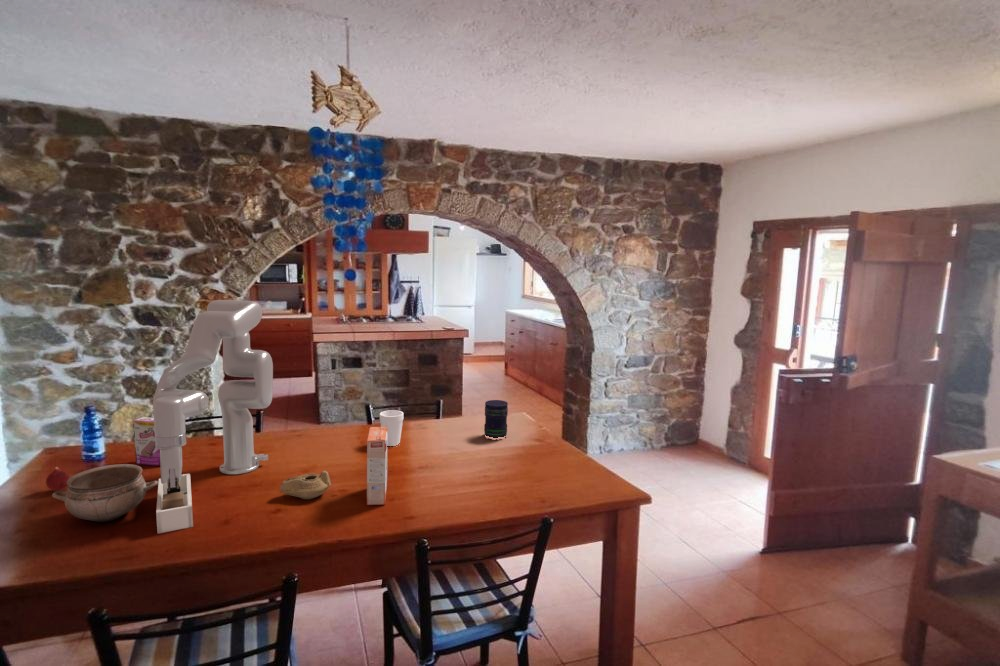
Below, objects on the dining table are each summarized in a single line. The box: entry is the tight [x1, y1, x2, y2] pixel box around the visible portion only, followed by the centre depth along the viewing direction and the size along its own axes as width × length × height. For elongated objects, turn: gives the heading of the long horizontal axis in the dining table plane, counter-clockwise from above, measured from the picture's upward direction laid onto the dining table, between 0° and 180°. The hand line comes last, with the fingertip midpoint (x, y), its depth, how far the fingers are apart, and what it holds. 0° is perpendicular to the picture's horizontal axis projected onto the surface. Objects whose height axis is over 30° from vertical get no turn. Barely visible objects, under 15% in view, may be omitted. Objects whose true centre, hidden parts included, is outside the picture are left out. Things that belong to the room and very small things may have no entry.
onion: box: [45, 466, 71, 492], centre depth 171 cm, size 6×6×8 cm
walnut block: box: [162, 491, 184, 510], centre depth 152 cm, size 5×5×5 cm
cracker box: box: [366, 426, 388, 506], centre depth 173 cm, size 14×6×21 cm, turn 9°
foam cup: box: [379, 409, 404, 447], centre depth 221 cm, size 10×9×13 cm
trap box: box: [155, 473, 194, 534], centre depth 160 cm, size 8×26×6 cm, turn 30°
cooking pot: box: [51, 463, 159, 523], centre depth 155 cm, size 25×19×12 cm
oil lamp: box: [279, 470, 332, 500], centre depth 172 cm, size 11×15×8 cm
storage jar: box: [484, 399, 509, 438], centre depth 234 cm, size 10×10×15 cm
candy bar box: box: [132, 416, 160, 467], centre depth 195 cm, size 11×5×16 cm, turn 84°
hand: (174, 501), depth 157 cm, fingers closed
